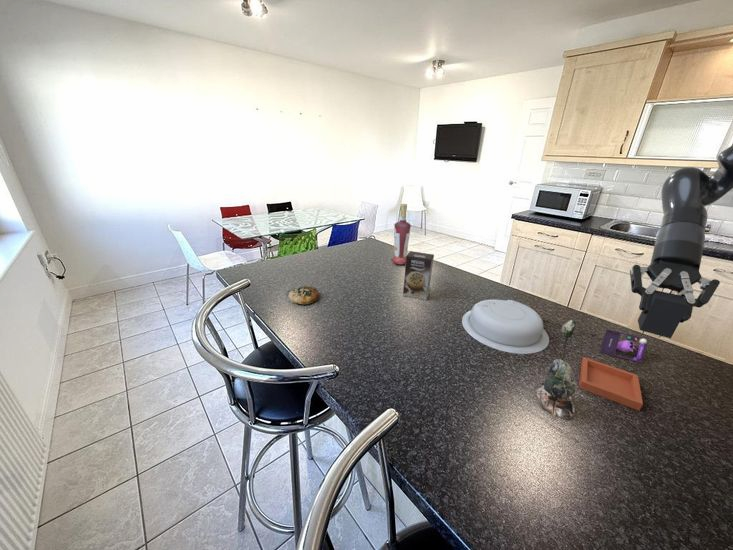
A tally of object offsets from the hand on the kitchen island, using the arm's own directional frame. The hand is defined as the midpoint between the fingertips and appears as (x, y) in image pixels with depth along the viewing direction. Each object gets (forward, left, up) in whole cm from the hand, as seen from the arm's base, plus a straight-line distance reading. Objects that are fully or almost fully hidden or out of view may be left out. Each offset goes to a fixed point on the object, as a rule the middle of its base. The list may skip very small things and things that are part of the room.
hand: (663, 316), depth 61 cm
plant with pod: (+14, +16, -20) cm, 29 cm away
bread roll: (+93, +16, -20) cm, 96 cm away
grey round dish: (+30, -9, -20) cm, 37 cm away
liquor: (+83, -36, -20) cm, 92 cm away
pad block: (0, -2, -4) cm, 5 cm away
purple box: (+1, -16, -20) cm, 26 cm away
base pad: (+4, +1, -20) cm, 20 cm away
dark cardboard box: (+62, -12, -20) cm, 66 cm away
